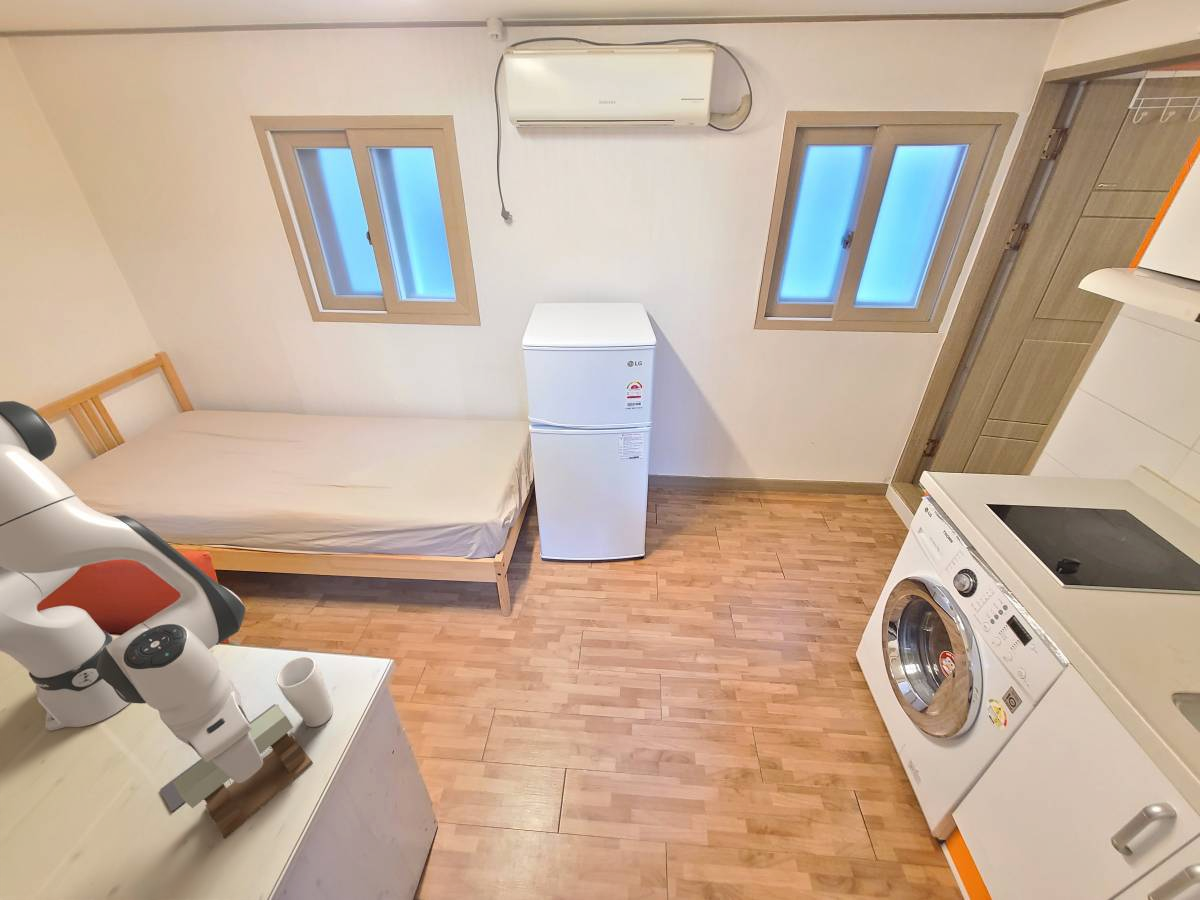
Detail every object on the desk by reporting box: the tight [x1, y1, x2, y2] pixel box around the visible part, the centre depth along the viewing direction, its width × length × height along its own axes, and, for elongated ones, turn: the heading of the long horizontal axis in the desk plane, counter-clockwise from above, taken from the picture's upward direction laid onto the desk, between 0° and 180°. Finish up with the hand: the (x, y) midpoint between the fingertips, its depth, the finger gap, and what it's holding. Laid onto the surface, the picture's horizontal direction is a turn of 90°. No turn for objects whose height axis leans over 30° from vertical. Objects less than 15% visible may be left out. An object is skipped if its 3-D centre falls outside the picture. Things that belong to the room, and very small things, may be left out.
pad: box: [159, 703, 276, 813], centre depth 94 cm, size 6×20×1 cm, turn 144°
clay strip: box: [173, 704, 294, 809], centre depth 84 cm, size 16×4×4 cm, turn 144°
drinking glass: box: [276, 656, 334, 728], centre depth 96 cm, size 7×7×15 cm
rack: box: [203, 732, 313, 839], centre depth 88 cm, size 8×15×6 cm, turn 144°
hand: (239, 753), depth 84 cm, fingers closed on clay strip, 3 cm apart
